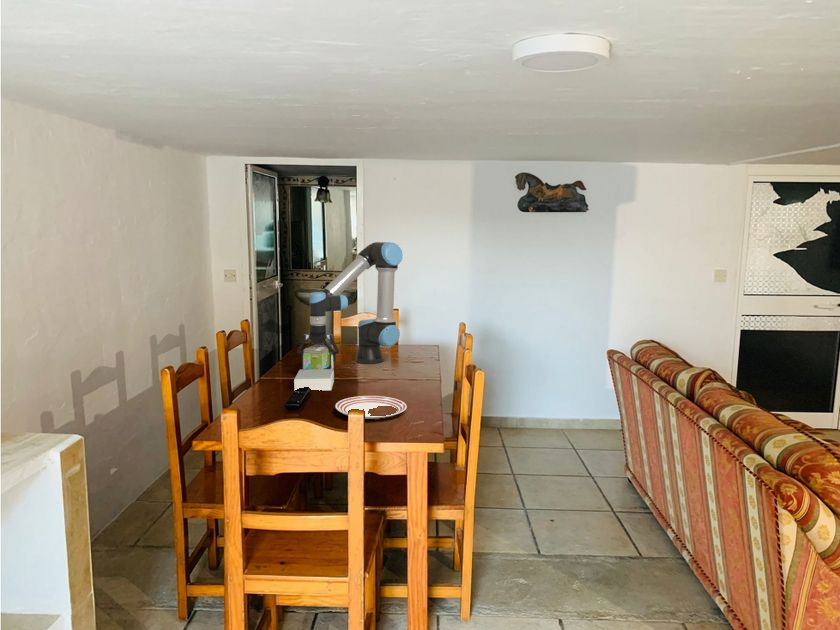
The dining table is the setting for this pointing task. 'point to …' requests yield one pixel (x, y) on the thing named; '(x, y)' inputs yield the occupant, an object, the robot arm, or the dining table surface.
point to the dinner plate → (370, 405)
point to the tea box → (317, 357)
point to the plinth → (314, 379)
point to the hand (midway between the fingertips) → (318, 367)
